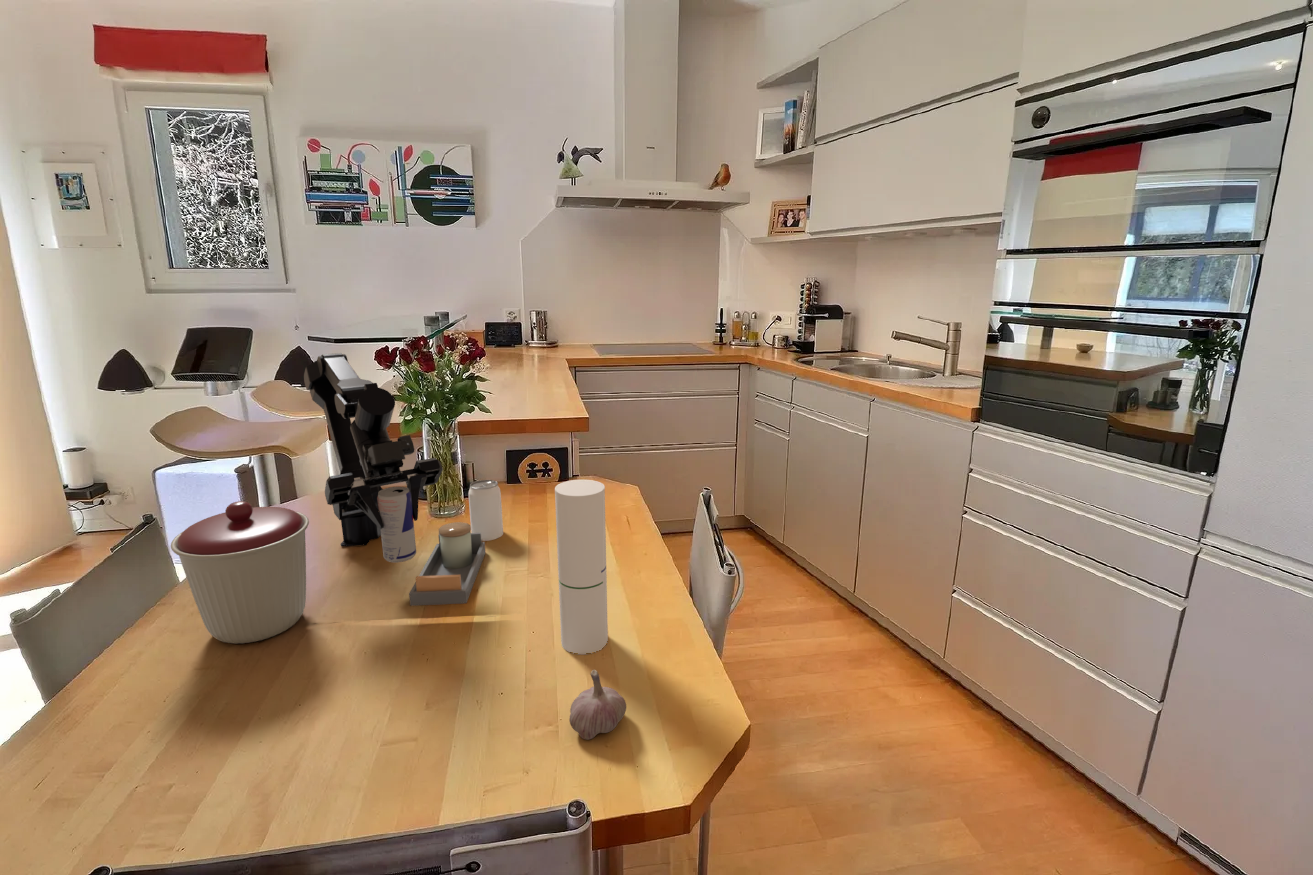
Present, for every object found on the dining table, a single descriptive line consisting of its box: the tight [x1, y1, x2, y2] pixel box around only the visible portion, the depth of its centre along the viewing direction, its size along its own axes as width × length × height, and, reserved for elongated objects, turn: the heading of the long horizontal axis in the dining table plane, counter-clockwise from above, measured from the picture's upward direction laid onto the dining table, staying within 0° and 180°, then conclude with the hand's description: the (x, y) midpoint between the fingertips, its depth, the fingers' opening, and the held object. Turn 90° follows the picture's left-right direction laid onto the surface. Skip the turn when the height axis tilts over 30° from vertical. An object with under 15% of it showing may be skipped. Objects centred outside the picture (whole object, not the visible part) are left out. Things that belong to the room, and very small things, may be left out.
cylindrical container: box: [554, 479, 609, 655], centre depth 98 cm, size 7×7×25 cm
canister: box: [170, 500, 310, 645], centre depth 103 cm, size 18×18×21 cm
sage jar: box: [438, 521, 473, 569], centre depth 125 cm, size 6×6×7 cm
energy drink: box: [377, 486, 417, 564], centre depth 113 cm, size 5×5×12 cm
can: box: [468, 479, 504, 542], centre depth 137 cm, size 6×6×12 cm
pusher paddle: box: [415, 575, 462, 592], centre depth 111 cm, size 7×1×4 cm, turn 95°
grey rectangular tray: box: [408, 533, 486, 607], centre depth 120 cm, size 9×20×5 cm, turn 5°
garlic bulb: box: [568, 669, 627, 741], centre depth 82 cm, size 8×7×8 cm
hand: (399, 523), depth 112 cm, fingers closed on energy drink, 5 cm apart
